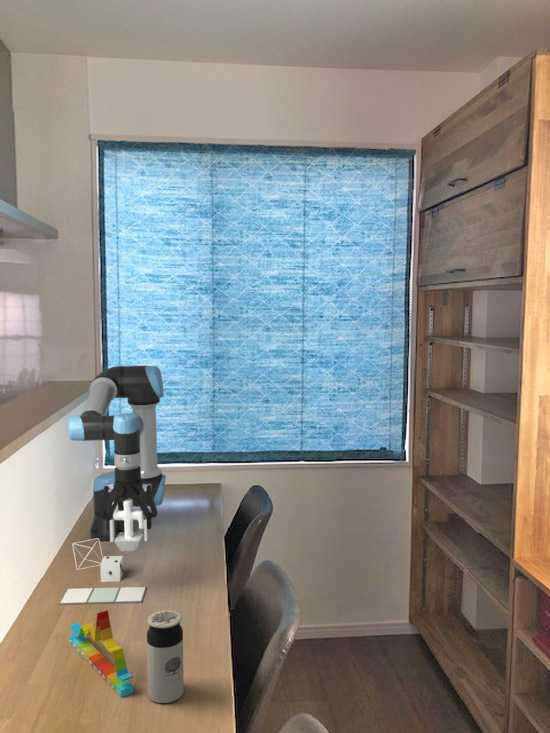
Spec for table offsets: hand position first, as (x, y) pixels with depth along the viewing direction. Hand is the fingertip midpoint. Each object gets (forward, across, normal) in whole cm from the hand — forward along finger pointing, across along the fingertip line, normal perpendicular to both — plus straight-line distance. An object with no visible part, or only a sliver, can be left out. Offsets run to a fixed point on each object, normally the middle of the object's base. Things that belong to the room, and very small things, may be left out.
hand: (129, 539), depth 195 cm
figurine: (+3, 0, 0) cm, 3 cm away
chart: (+18, -2, -38) cm, 42 cm away
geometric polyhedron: (+18, -18, +24) cm, 35 cm away
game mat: (+17, -8, 0) cm, 19 cm away
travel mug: (+17, +16, -50) cm, 55 cm away
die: (+17, -8, +13) cm, 23 cm away
